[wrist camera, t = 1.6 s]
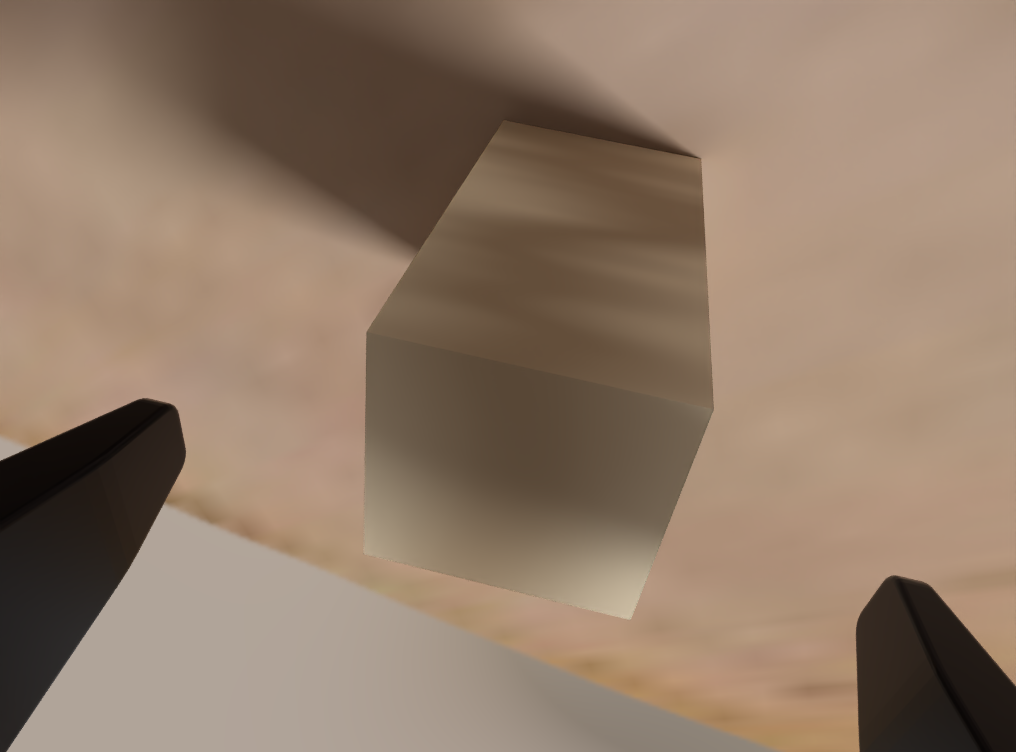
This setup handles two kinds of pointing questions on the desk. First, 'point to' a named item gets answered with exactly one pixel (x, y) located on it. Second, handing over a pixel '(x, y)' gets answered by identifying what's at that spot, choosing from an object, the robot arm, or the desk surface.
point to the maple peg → (544, 372)
